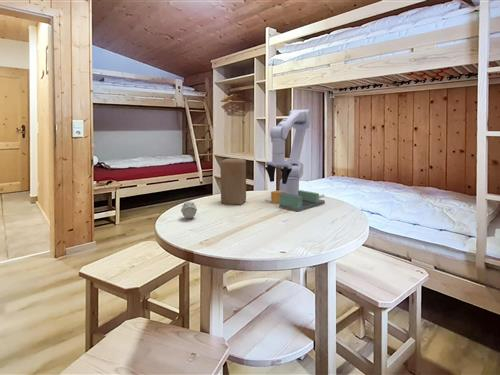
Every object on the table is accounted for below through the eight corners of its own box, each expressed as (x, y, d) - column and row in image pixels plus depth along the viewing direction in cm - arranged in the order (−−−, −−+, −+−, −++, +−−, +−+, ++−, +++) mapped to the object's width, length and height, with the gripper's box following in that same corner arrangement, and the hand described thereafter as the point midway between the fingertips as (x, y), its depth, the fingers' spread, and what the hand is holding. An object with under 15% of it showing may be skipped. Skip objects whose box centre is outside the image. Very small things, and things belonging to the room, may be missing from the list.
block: (241, 205, 150) (241, 161, 146) (220, 204, 152) (219, 160, 148) (246, 200, 160) (246, 158, 156) (226, 199, 162) (225, 158, 158)
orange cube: (271, 202, 156) (271, 191, 155) (278, 200, 160) (278, 190, 159) (277, 203, 153) (277, 193, 152) (284, 202, 157) (284, 191, 156)
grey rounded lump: (182, 221, 126) (181, 203, 124) (180, 216, 132) (179, 199, 131) (198, 220, 127) (197, 202, 126) (196, 215, 134) (195, 198, 133)
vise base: (279, 207, 147) (279, 194, 146) (306, 200, 160) (307, 187, 159) (297, 211, 140) (297, 197, 139) (324, 203, 153) (325, 190, 152)
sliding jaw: (297, 199, 155) (298, 190, 155) (306, 196, 160) (307, 188, 159) (315, 202, 148) (316, 193, 148) (324, 200, 153) (325, 191, 152)
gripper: (260, 152, 154) (260, 181, 157) (285, 154, 144) (284, 185, 147) (271, 151, 159) (270, 179, 162) (295, 153, 149) (294, 183, 152)
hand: (278, 182), depth 155 cm, fingers open, 7 cm apart
